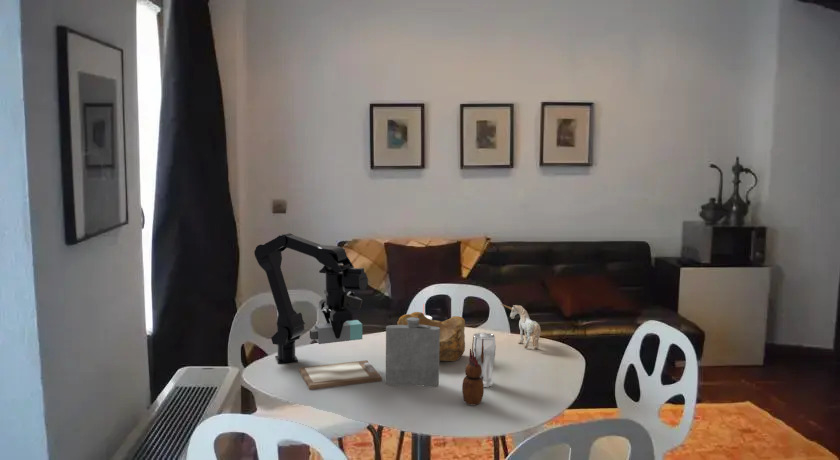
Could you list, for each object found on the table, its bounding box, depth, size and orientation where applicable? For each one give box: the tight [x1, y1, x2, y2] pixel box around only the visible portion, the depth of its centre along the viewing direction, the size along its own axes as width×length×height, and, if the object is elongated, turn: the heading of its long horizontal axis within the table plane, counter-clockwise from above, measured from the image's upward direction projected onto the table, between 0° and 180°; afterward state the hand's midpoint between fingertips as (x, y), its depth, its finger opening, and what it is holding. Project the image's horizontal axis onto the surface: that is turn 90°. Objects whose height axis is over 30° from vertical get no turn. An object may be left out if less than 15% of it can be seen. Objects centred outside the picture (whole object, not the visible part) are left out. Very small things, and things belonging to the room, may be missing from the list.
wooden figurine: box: [461, 348, 485, 406], centre depth 183 cm, size 7×6×15 cm
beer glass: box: [471, 332, 497, 388], centre depth 198 cm, size 7×7×15 cm
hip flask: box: [385, 317, 440, 387], centre depth 197 cm, size 16×4×20 cm, turn 86°
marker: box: [309, 319, 363, 345], centre depth 209 cm, size 5×16×5 cm, turn 112°
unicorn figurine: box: [500, 303, 541, 350], centre depth 237 cm, size 7×20×13 cm, turn 34°
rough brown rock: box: [396, 311, 466, 362], centre depth 218 cm, size 23×17×15 cm
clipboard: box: [298, 360, 383, 390], centre depth 203 cm, size 16×22×2 cm
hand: (335, 336), depth 209 cm, fingers closed on marker, 5 cm apart
